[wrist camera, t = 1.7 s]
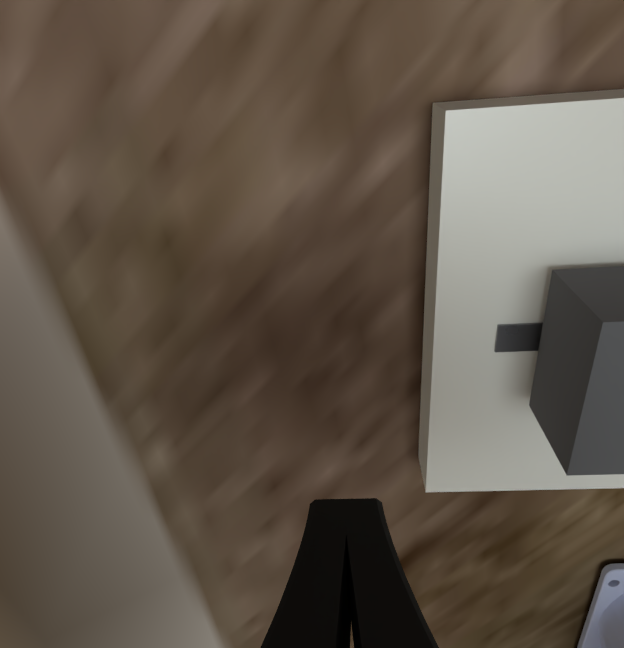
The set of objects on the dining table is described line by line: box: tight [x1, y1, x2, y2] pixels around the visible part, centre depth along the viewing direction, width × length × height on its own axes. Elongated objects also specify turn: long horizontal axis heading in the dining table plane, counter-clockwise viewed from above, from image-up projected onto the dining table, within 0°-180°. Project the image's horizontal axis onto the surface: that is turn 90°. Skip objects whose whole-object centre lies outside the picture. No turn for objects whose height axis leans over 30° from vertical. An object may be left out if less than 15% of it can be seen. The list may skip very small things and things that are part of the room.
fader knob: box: [529, 266, 624, 476], centre depth 15 cm, size 5×4×3 cm
